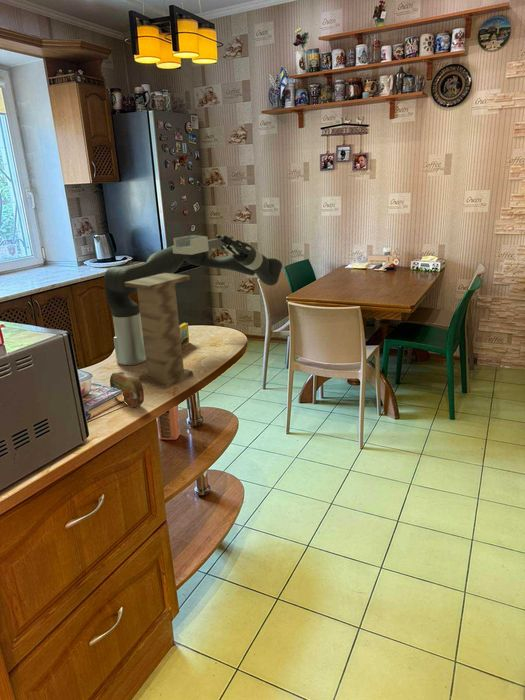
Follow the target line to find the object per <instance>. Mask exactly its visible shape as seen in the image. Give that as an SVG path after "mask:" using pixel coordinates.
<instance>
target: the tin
mask: <svg viewBox="0 0 525 700" xmlns="http://www.w3.org/2000/svg"><path fill="white" fill-rule="evenodd" d="M109 378H110V379H109V386H110V388H111V387H113V388H117V389H119V390H121V391H122V392H123V396H124V400H125V402H126V403H127V404H128V405H129V406H131V407H133V408H134V409H135V407H138V406H141V405H142V404H143V403H144V402H145V401H144V400H145V394H144V392H145V391H144V387H143V385H142V383H141V381H140V380H139V379H138V378H136V377H134V376H133V375H130V374H129V373H125V372H124V371H118V372H114V373H112V374H111V375H110V377H109ZM128 405H127V406H128ZM129 406H128V407H129ZM131 407H130V408H131Z"/></svg>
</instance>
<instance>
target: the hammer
mask: <svg viewBox="0 0 525 700" xmlns="http://www.w3.org/2000/svg"><path fill="white" fill-rule="evenodd" d="M226 236H227V237H229V238H230V239H234V236H230V235H226ZM215 238H216V237H215ZM215 238H212V239H208V236H205V235H203V236H191V235H186V236H180V237H173V245H174V247H172V248H173V253H176V254H189V255H192V254H197V253H201V252H206V251H208V252H209V250H211V249H215V248H219V247H221V246H226V245H227V244H226V243H224V242H223V241H222V238H223V236H221V238H216V239H215Z"/></svg>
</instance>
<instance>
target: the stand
mask: <svg viewBox="0 0 525 700" xmlns="http://www.w3.org/2000/svg"><path fill="white" fill-rule="evenodd" d="M189 280H191V278H190V275H189V274H187V275H186V274H178V273H172V274H171V273H162V274H157V275H153V276H149V277H145V278H141V279H136V280H132V281H128V282H125V286H126V287H133V288H137V293H136V294H137V300H138V305H139V309H140V317H141V324H142V332H143V340H144V347H145V355H146V360H145V362H146V369H147V372H146V373H143V374H141V375H139V377H138V378H139V379H138V380H139V381H140V382H142V381H143V383H146V384H148V383H149V384H150V385H152V386H155V387H158V388H161V389H168V388H171V387H173V386H175V385H177V384H179V383H181V382H183V381H185V380H187V379H189V378H192V377H194V371H193V370H192V369H191V370H190V369H186V368H184V361H183V347H182V348H181V338H180V328H179V326H180V320H179V311H178V302H177V301H178V300H177V299H178V298H177V293H176V292H177V291H176V284H178V283H182V282H186V281H189ZM149 384H148V385H149Z"/></svg>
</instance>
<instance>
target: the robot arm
mask: <svg viewBox="0 0 525 700" xmlns="http://www.w3.org/2000/svg"><path fill="white" fill-rule="evenodd" d="M190 236H204V235H202V234H191V235H190ZM227 236H228V235H226V234H225V235H224V234H223V235H219V234H216V236H215V238H214V239H216V238H221V237H223V238H222V241H223V242H224V243H226V244H227V245H226V246H221V247H218V249H219V250H220V251H221V252H224V251H227V252H228V253H229V255H226V256H222V257H217V258H216V257H215V258H214V257H213V258H212V257H209V256H208V254H209V253H208V252H209V251H206V252H201V253H197V254H192V255H189V254H176V253H173V248H172V247H174V244H173V245H171V246H169V247H166V248H164V249H160V250H158V251H156V252H154V253H152V254H150V255H149V256H148V257H147V259H146V262H145V263H143V264H140V265H137V266H132V267H129V266H111V267H109V268H108V269H106V271H105V273H104V276H103V286H104V291H105V292H104V293H105V295H106V300H107V305H108V307H109V310H110V311H111V316H112V322H113V328H114V336H113V345H114V350H115V351H114V352H115V357H116V364H118V365H119V364H120V365H123V366H133V365H139V364H142V363H144V362H146V355H145V347H144V340H143V332H142V324H141V317H140V309H139V303H137V302H135V301H134V300H132V299H131V297H130V296H131V295H132V296H133V295H135V294H137V288H133V287H126V286H125V282H128V281H132V280H136V279H141V278H145V277H149V276H153V275H157V274H162V273H171V274H175V272H177V270H179V268H180V267H182V265H183V264H184V262H186V263H188V264H191V265H194V266H200V267H206V268H212V269H221V270H222V269H223V270H229V271H233V272H238V273H241V274H244V275H248V276H255V274H256V275H257V277H258V279H259V280H260V281H261V282H262V283H263V284H265V285H267V286H271V287H272V286H276V285H277V284H278V282H279V280H280V279H279V278H280V275H281V273H282V268H283V263H282V262H281V260H279V259H277V258H271V257H270V258H269V257H268V258H267V256H265V255H263V254H262V253H261V252H259V250H257V248H255V247H253V246H252V245H250V244H249V243H248V242H245V241H244V242H243V241H242V240H239V239H236V240H235V239H234V238H233V239H230V238H229V237H227Z"/></svg>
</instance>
